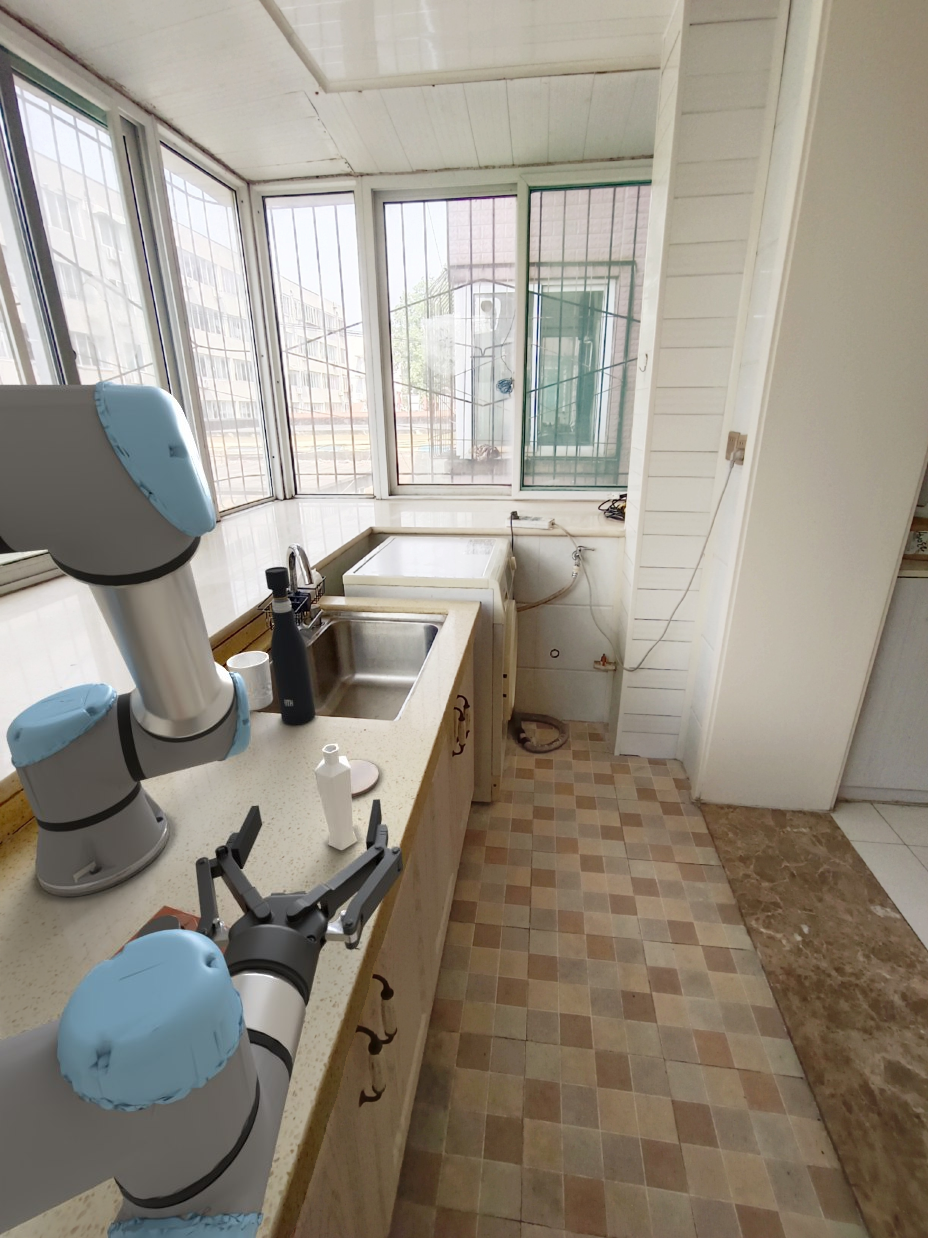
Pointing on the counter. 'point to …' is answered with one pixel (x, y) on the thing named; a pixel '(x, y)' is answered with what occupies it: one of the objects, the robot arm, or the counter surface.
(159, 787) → the counter surface
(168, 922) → the dark grey disc
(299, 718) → the black water bottle
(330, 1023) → the counter surface
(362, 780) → the coaster
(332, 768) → the perfume bottle
